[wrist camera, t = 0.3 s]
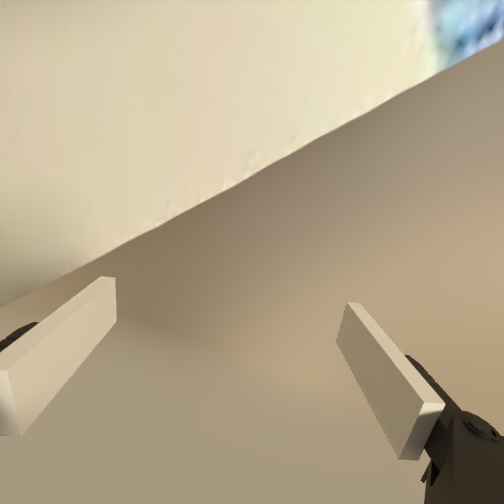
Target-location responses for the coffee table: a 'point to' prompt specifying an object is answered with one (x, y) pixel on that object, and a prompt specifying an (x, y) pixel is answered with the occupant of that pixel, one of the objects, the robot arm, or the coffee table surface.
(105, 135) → the coffee table surface
